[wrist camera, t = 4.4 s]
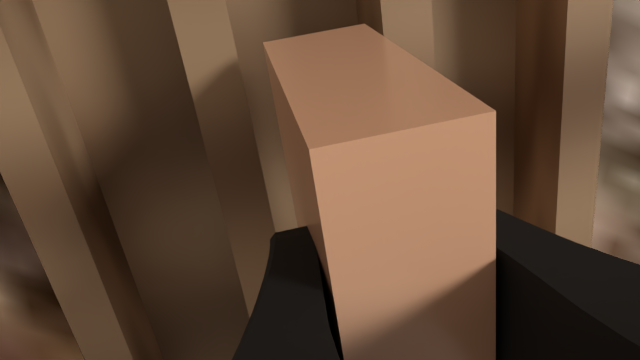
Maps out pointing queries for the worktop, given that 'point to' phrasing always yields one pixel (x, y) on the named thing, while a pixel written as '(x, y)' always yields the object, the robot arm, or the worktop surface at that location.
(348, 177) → the tile
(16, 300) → the worktop surface
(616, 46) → the worktop surface
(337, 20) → the rack
